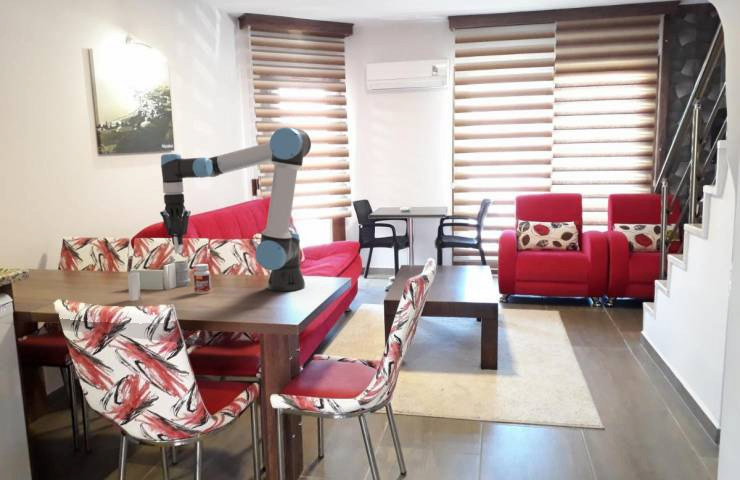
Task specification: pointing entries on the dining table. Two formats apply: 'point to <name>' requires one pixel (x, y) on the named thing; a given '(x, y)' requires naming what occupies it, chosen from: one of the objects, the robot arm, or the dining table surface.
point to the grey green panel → (150, 279)
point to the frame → (135, 284)
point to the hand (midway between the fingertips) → (178, 252)
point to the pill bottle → (202, 279)
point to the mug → (181, 272)
